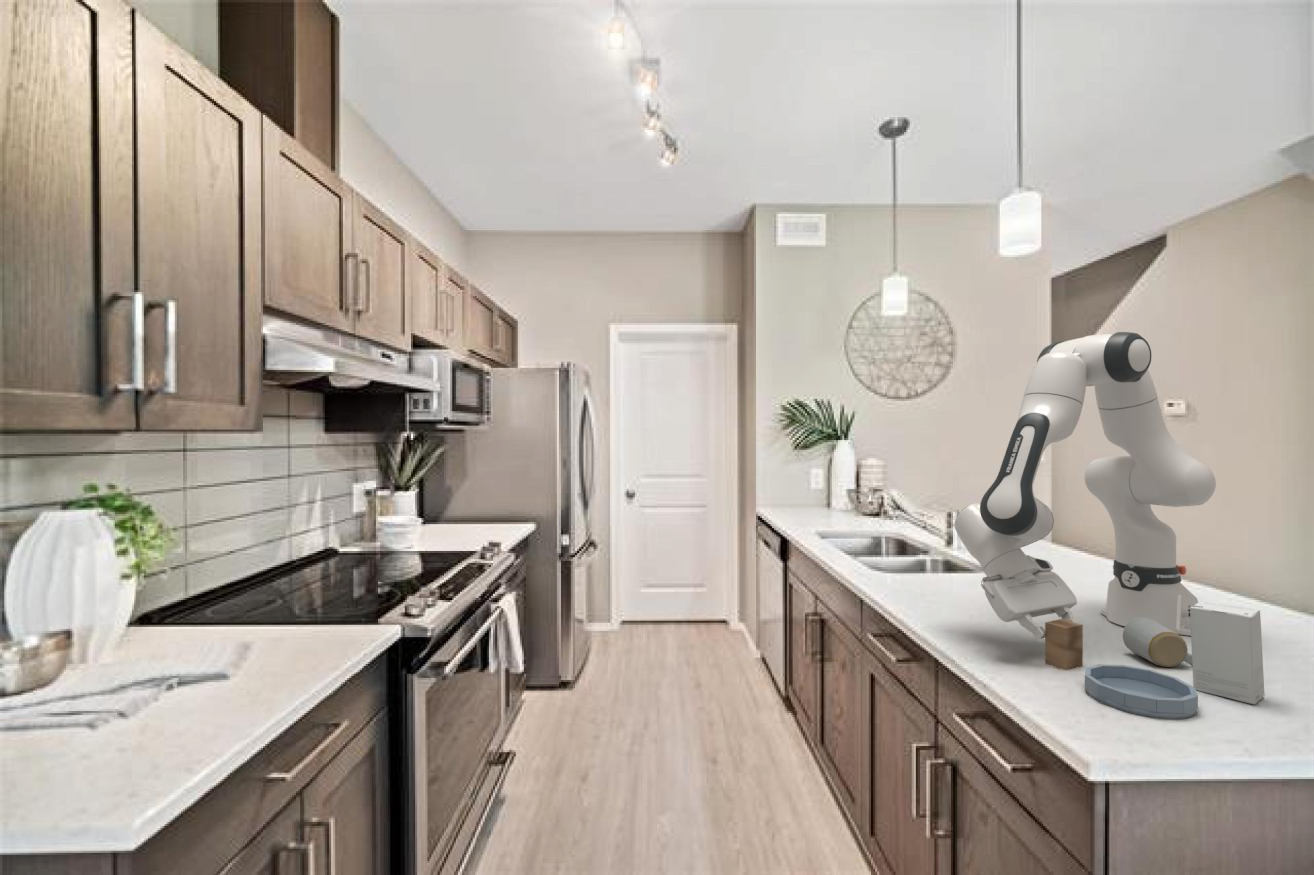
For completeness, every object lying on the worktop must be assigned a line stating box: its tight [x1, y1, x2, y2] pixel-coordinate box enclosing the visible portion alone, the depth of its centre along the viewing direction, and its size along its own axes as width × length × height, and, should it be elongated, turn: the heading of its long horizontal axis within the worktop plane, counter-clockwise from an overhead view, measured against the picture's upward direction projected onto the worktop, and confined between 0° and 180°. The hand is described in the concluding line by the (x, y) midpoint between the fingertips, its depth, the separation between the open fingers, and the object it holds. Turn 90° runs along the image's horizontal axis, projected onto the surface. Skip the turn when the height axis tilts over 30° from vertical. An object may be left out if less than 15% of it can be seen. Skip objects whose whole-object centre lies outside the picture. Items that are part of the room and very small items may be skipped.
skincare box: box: [1190, 600, 1265, 705], centre depth 106 cm, size 8×6×15 cm
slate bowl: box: [1084, 663, 1199, 720], centre depth 104 cm, size 15×15×3 cm
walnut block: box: [1044, 618, 1084, 671], centre depth 120 cm, size 5×4×8 cm
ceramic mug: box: [1122, 617, 1193, 668], centre depth 121 cm, size 11×8×8 cm
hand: (1058, 634), depth 120 cm, fingers open, 8 cm apart
